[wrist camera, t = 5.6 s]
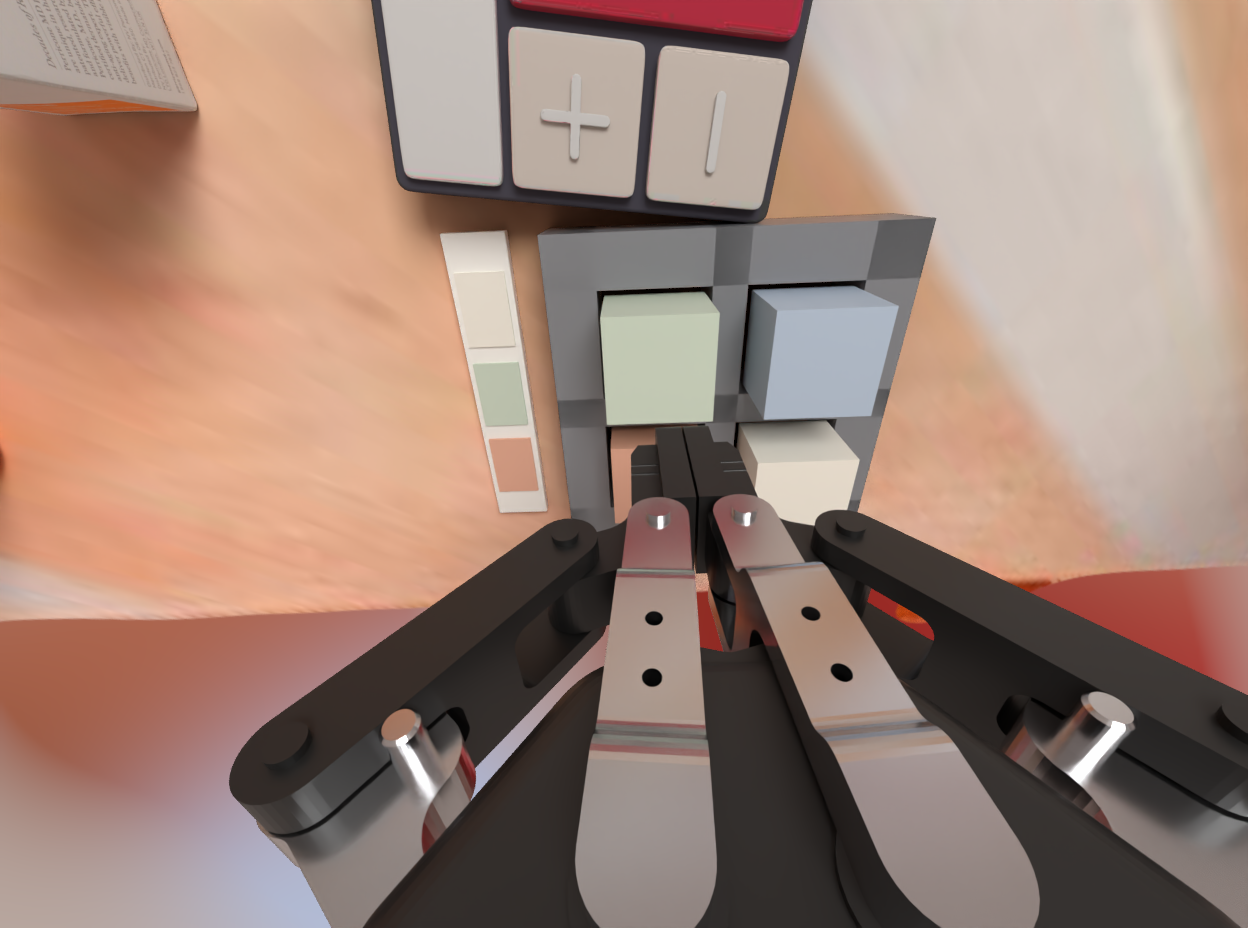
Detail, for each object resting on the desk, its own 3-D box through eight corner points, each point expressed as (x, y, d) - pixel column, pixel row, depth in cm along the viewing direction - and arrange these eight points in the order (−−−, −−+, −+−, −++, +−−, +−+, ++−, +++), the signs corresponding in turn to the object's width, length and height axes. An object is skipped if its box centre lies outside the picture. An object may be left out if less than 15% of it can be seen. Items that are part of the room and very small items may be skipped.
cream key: (825, 420, 24) (859, 460, 20) (811, 491, 26) (840, 538, 23) (739, 423, 24) (758, 463, 20) (732, 494, 26) (748, 541, 23)
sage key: (704, 291, 21) (719, 312, 17) (699, 385, 23) (712, 421, 19) (604, 295, 21) (600, 317, 17) (609, 388, 23) (606, 425, 20)
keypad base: (893, 213, 22) (936, 218, 19) (829, 497, 30) (851, 532, 27) (549, 228, 22) (537, 235, 19) (579, 504, 30) (574, 540, 27)
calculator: (772, 226, 19) (389, 191, 18) (743, 219, 23) (424, 189, 21) (865, -200, 13) (316, -296, 12) (807, -118, 17) (381, -186, 16)
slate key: (853, 285, 21) (899, 305, 17) (833, 380, 23) (870, 416, 19) (751, 289, 21) (777, 310, 17) (742, 384, 23) (763, 419, 19)
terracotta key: (693, 410, 25) (704, 446, 22) (690, 479, 28) (700, 520, 24) (612, 413, 26) (610, 449, 22) (616, 481, 28) (615, 523, 24)
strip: (507, 230, 22) (503, 231, 21) (548, 505, 30) (546, 512, 30) (444, 232, 22) (438, 234, 22) (502, 507, 30) (499, 514, 30)
